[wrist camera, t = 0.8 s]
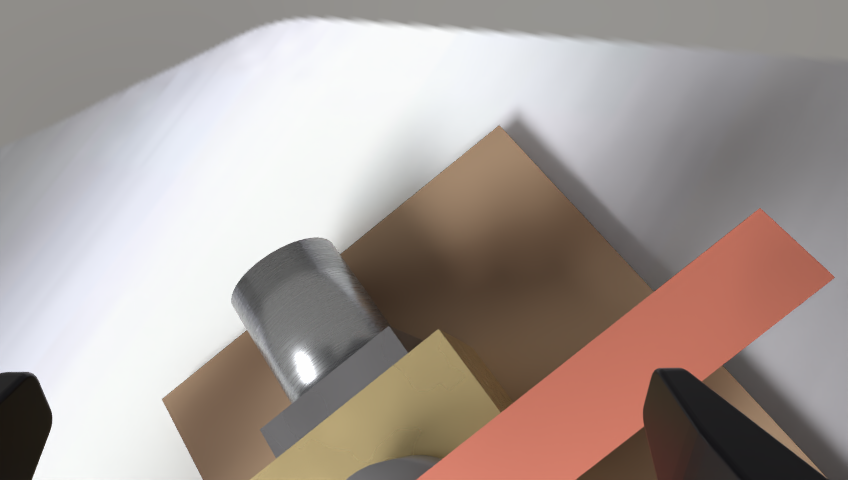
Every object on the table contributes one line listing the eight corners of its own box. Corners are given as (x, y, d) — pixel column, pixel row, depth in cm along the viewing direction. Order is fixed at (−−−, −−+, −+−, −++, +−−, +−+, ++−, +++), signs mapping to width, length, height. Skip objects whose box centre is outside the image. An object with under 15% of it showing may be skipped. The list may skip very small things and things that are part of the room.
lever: (403, 664, 15) (366, 713, 13) (318, 516, 16) (270, 534, 14) (836, 328, 14) (884, 311, 12) (708, 206, 16) (729, 169, 14)
